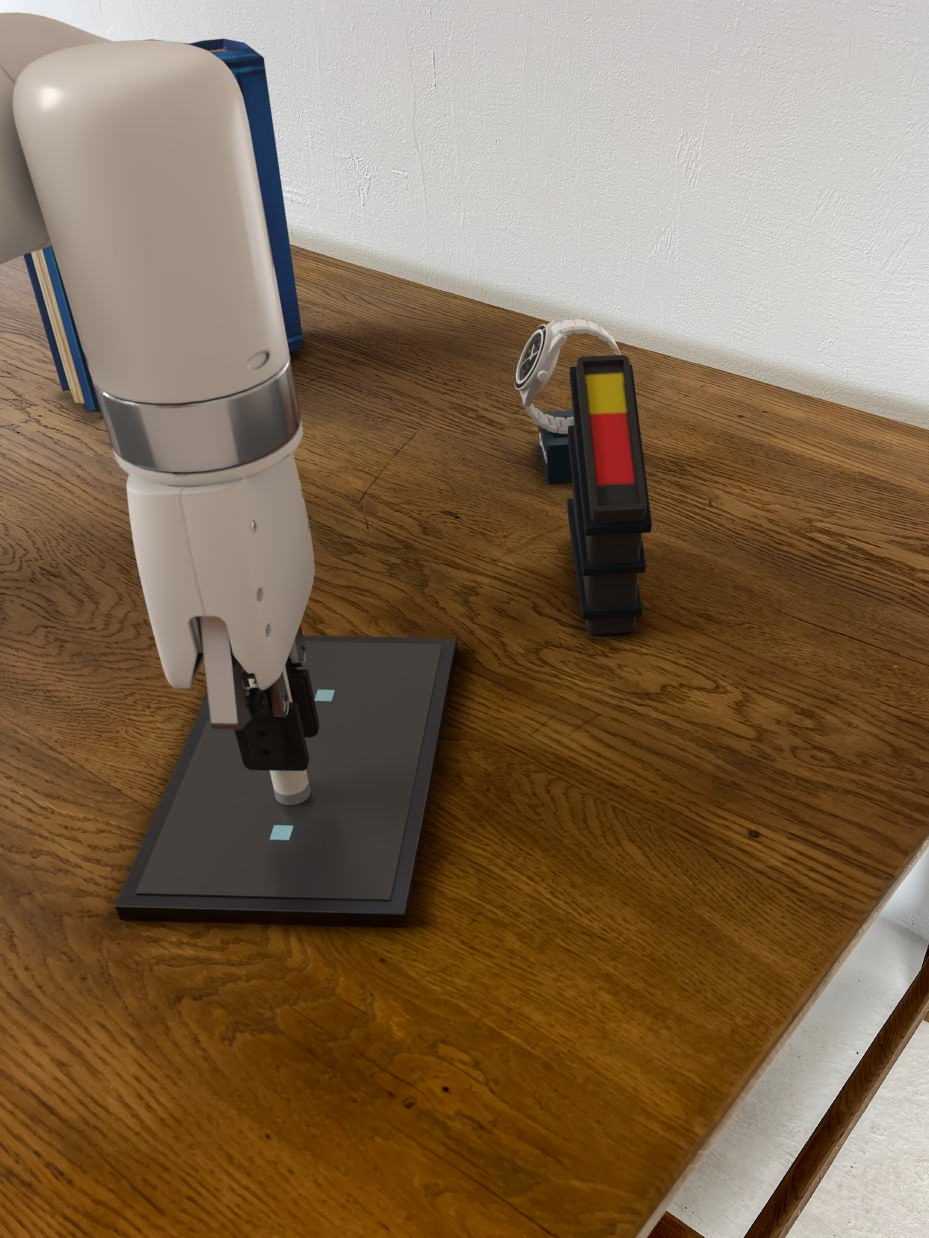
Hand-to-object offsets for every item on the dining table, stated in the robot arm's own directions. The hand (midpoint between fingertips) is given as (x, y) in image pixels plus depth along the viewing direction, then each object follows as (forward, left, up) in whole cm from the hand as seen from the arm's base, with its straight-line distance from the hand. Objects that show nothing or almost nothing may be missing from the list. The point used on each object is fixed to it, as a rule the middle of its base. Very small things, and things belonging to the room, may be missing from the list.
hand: (283, 747), depth 58 cm
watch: (+13, +38, -5) cm, 41 cm away
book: (-21, +54, -5) cm, 58 cm away
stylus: (0, 0, -3) cm, 3 cm away
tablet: (0, +3, -4) cm, 5 cm away
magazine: (+16, +20, -5) cm, 26 cm away
